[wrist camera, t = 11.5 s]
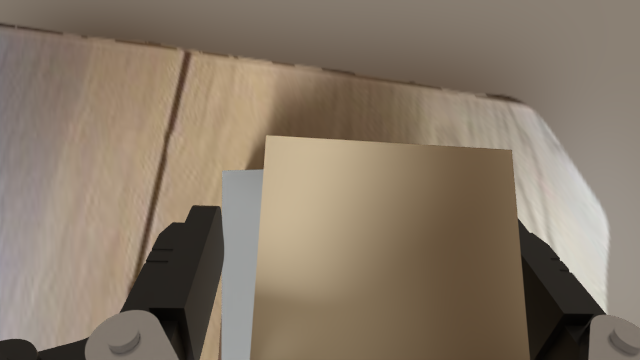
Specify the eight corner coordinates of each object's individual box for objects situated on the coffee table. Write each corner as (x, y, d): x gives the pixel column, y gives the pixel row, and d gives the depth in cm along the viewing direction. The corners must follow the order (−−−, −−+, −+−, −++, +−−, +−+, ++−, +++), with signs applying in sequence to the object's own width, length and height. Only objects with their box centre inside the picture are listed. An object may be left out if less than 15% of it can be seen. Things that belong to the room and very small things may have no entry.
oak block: (272, 339, 16) (242, 453, 7) (280, 206, 18) (266, 135, 8) (393, 342, 17) (537, 454, 7) (392, 211, 18) (511, 149, 8)
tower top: (235, 370, 19) (221, 397, 16) (234, 187, 22) (222, 170, 18) (417, 356, 20) (447, 378, 16) (399, 181, 23) (422, 164, 19)
